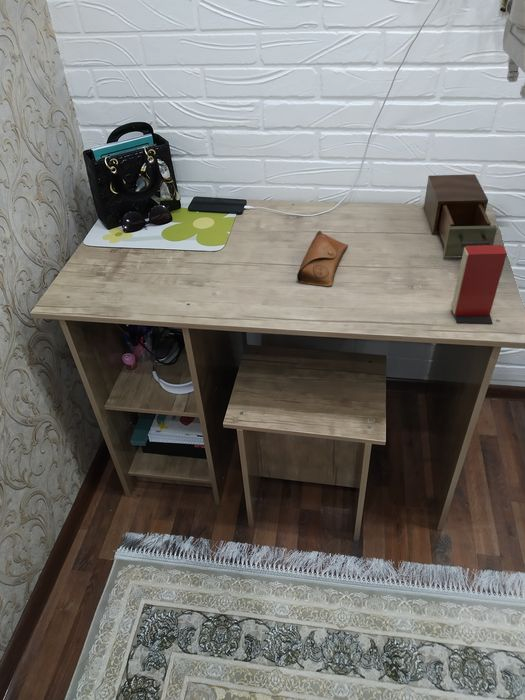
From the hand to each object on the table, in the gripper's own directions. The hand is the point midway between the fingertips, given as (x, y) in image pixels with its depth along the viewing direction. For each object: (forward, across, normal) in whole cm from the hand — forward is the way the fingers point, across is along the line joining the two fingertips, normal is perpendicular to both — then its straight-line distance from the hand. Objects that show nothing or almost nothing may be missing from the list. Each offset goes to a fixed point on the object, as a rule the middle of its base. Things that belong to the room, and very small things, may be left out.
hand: (518, 88), depth 115 cm
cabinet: (+35, +9, +6) cm, 37 cm away
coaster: (+35, -28, +9) cm, 46 cm away
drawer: (+34, -4, +5) cm, 35 cm away
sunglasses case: (+35, -9, +39) cm, 53 cm away
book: (+35, -28, +9) cm, 46 cm away
